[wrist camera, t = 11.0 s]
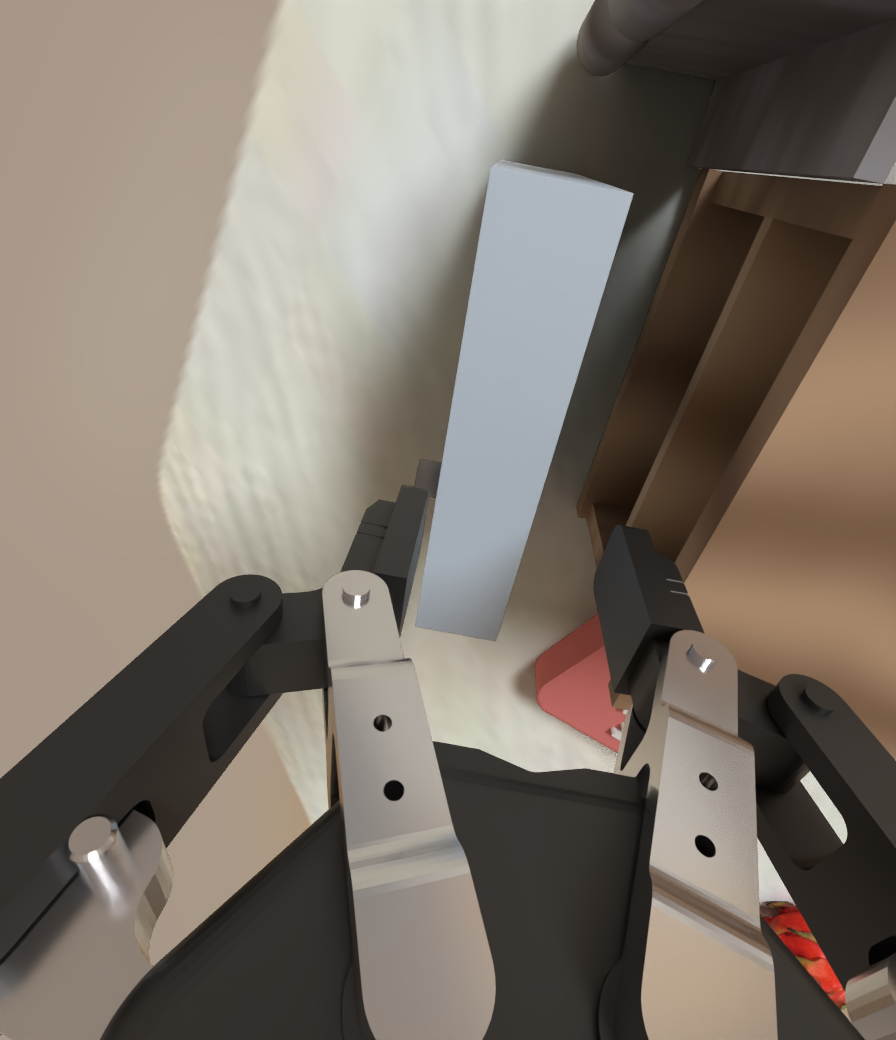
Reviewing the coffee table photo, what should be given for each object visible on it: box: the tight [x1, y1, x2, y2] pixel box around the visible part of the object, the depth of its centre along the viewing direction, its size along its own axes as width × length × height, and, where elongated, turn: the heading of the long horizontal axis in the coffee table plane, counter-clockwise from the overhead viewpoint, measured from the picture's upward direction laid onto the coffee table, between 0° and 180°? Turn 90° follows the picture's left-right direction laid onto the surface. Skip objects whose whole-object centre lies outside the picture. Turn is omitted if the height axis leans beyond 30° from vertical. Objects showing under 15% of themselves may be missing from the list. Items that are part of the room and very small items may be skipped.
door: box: [414, 160, 634, 641], centre depth 20 cm, size 4×14×12 cm, turn 171°
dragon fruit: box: [763, 902, 847, 1010], centre depth 53 cm, size 8×8×12 cm
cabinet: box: [576, 0, 896, 760], centre depth 18 cm, size 20×20×13 cm
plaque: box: [535, 614, 628, 753], centre depth 35 cm, size 18×4×15 cm
